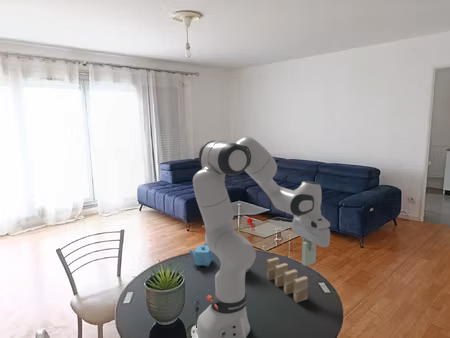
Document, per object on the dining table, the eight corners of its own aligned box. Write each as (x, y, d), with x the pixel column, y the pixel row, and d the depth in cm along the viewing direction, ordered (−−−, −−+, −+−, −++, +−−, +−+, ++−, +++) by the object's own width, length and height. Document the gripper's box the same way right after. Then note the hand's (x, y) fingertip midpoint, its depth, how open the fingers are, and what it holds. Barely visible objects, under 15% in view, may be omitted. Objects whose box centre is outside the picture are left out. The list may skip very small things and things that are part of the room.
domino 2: (287, 283, 147) (287, 264, 145) (277, 287, 144) (277, 267, 143) (285, 281, 149) (285, 262, 147) (275, 285, 146) (274, 265, 145)
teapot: (212, 271, 161) (211, 253, 159) (186, 270, 163) (185, 253, 161) (217, 256, 179) (216, 239, 177) (193, 255, 180) (192, 239, 179)
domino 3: (297, 291, 141) (297, 270, 139) (286, 294, 138) (286, 274, 137) (294, 289, 143) (294, 269, 141) (283, 292, 140) (283, 272, 138)
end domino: (315, 262, 134) (316, 241, 133) (304, 265, 132) (305, 243, 130) (312, 261, 136) (313, 239, 135) (301, 264, 134) (302, 242, 132)
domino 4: (307, 299, 135) (307, 277, 133) (296, 302, 132) (296, 281, 130) (304, 296, 136) (304, 275, 135) (293, 300, 134) (293, 279, 132)
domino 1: (279, 277, 153) (279, 258, 152) (269, 280, 151) (268, 261, 149) (276, 275, 155) (276, 257, 153) (266, 278, 152) (266, 259, 151)
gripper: (288, 213, 138) (288, 242, 141) (321, 226, 120) (320, 260, 123) (299, 211, 141) (298, 239, 143) (333, 224, 123) (332, 256, 125)
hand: (309, 249), depth 133 cm, fingers closed on end domino, 2 cm apart
